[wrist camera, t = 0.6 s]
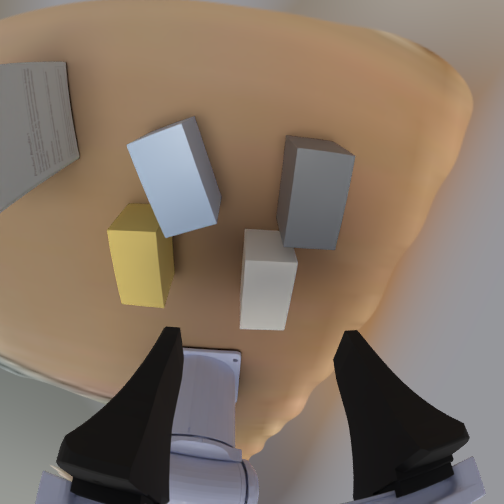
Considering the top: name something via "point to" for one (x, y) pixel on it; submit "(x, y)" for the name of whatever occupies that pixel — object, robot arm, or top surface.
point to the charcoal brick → (313, 192)
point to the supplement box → (33, 127)
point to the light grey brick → (266, 280)
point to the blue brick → (177, 177)
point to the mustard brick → (141, 257)
